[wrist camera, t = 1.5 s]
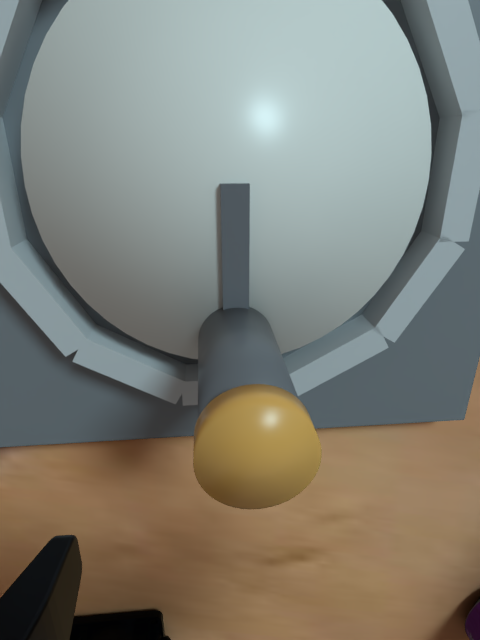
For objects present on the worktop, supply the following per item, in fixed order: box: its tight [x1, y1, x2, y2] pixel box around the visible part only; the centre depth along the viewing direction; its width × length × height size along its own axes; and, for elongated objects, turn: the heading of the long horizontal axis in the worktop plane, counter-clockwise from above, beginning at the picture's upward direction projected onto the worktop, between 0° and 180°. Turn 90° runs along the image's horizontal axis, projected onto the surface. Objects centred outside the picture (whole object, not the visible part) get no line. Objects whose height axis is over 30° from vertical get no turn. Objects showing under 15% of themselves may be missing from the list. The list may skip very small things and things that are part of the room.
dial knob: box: [21, 0, 431, 509], centre depth 12 cm, size 15×14×8 cm
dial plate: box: [0, 0, 480, 447], centre depth 16 cm, size 24×24×3 cm
